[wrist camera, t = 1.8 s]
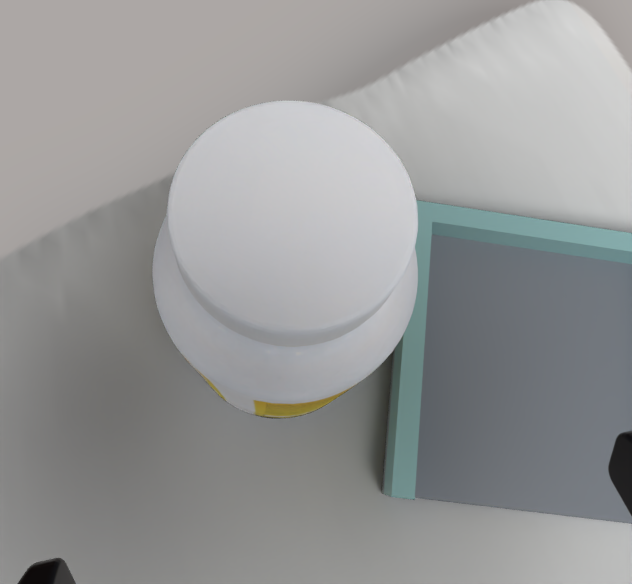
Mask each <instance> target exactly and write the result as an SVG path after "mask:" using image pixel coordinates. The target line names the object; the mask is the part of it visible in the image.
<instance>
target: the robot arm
mask: <svg viewBox="0 0 632 584" xmlns="http://www.w3.org/2000/svg"><path fill="white" fill-rule="evenodd" d="M608 472H609V476H610V479H611V481H612V483H613V485H614V486H615V488H616V490H617V492H618V493H619V495H620V497H621V499H622V500H623V502H624V504H625V506H626V507H627V509H628V511H629V513H630V514H631V516H632V431H627V432H623V433H620V434H619V435H618V436H617V438H616V440H615V444H614V447H613V451H612V454H611V457H610V461H609V465H608ZM18 584H76V583H75V581H74V579H73V577H72V575H71V573H70V571H69V568H68V566H67V564H66V563H65V561H64V560H63V559H61V558H55V559H50V560H46V561H41V562H37V563H35V564H33V565H31V566H30V567H29V568H28V569H27V571H26V572H25V574H24V575H23V576H22V578H21V579H20V581H19V582H18Z"/></svg>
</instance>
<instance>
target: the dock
mask: <svg viewBox="0 0 632 584" xmlns="http://www.w3.org/2000/svg"><path fill="white" fill-rule="evenodd" d="M416 202H417V211H418V232H417V239H416V244H415V251H416V256H417V266H418V286H417V295H416V300H415V305H414V309H413V313H412V315H411V318H410V321H409V323H408V326H407V328H406V330H405V332H404V334H403V336H402V338H401V340H400V341H399V343H398V344H397V346H396V347H395V349H394V350H393V360H392V373H391V385H390V398H389V410H388V423H387V435H386V448H385V460H384V473H383V485H382V494H385V495H388V496H390V497H396V498H404V499H413V500H415V498H421V499H430V500H438V501H446V502H455V503H463V504H472V505H480V506H488V507H497V508H505V509H513V510H522V511H530V512H539V513H547V514H555V515H564V516H572V517H580V518H589V519H597V520H605V521H614V522H622V523H631V524H632V516H631V514H630V513H629V511H628V509H627V507H626V506H625V504H624V502H623V500H622V499H621V497H620V495H619V493H618V492H617V490H616V488H615V486H614V485H613V483H612V481H611V479H610V476H609V472H608V465H609V461H610V457H611V454H612V451H613V447H614V444H615V440H616V438H617V436H618V435H619V434H620V433H623V432H627V431H632V233H627V232H621V231H614V230H608V229H601V228H595V227H588V226H582V225H575V224H569V223H562V222H555V221H549V220H542V219H536V218H529V217H523V216H516V215H510V214H503V213H497V212H490V211H484V210H477V209H471V208H464V207H458V206H451V205H445V204H438V203H432V202H425V201H419V200H416Z"/></svg>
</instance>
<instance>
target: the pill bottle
mask: <svg viewBox="0 0 632 584" xmlns="http://www.w3.org/2000/svg"><path fill="white" fill-rule="evenodd" d="M417 232H418V211H417V202H416V197H415V192H414V189H413V187H412V184H411V180H410V177H409V175H408V173H407V171H406V169H405V167H404V165H403V164H402V162H401V160H400V159H399V157H398V156H397V154H396V153H395V152H394V151H393V150H392V148H391V147H390V146H389V145H388V144H387V142H386V141H385V140H384V139H383V138H382V137H381V136H380V135H379V134H377V133H376V132H375V131H374V130H373V129H372V128H370V127H369V126H367V125H366V124H365V123H363V122H362V121H360V120H358V119H357V118H355V117H353V116H351V115H349V114H347V113H345V112H343V111H340V110H338V109H335V108H333V107H329V106H326V105H323V104H318V103H312V102H304V101H292V100H289V101H273V102H267V103H260V104H256V105H252V106H249V107H246V108H244V109H241V110H238V111H236V112H234V113H232V114H229V115H228V116H225V117H224V118H222V119H221V120H219V121H217V122H216V123H214V124H213V125H212V126H210V127H209V128H208V129H207V130H206V131H204V132H203V133H202V134H201V135H200V136H199V137H198V138H197V139H196V140H195V142H194V143H193V144H192V145H191V146H190V148H189V149H188V150H187V152H186V153H185V154H184V156H183V158H182V160H181V162H180V164H179V165H178V167H177V169H176V171H175V174H174V176H173V179H172V183H171V186H170V190H169V195H168V204H167V215H166V217H165V219H164V221H163V223H162V226H161V229H160V232H159V235H158V237H157V241H156V245H155V250H154V256H153V265H152V279H153V288H154V295H155V300H156V304H157V308H158V311H159V314H160V316H161V319H162V321H163V324H164V326H165V328H166V330H167V332H168V334H169V336H170V338H171V339H172V341H173V343H174V344H175V346H176V347H177V348H178V350H179V351H180V352H181V354H182V355H183V356H184V358H185V359H186V360H187V361H188V362H189V363H190V365H191V366H192V367H193V368H194V369H195V370H196V371H197V372H198V373H199V374H200V375H201V376H202V377H203V378H204V379H205V380H206V382H207V383H208V384H209V385H210V387H211V388H212V389H213V390H214V391H215V392H216V393H217V394H218V395H219V396H220V397H221V398H223V399H224V400H225V401H226V402H228V403H230V404H231V405H233V406H235V407H236V408H238V409H240V410H242V411H245V412H247V413H250V414H253V415H256V416H260V417H266V418H291V417H297V416H301V415H305V414H308V413H311V412H313V411H316V410H318V409H320V408H322V407H323V406H325V405H327V404H328V403H330V402H331V401H333V400H334V399H336V398H337V397H339V396H340V395H342V394H343V393H345V392H346V391H348V390H349V389H351V388H352V387H353V386H355V385H356V384H358V383H359V382H360V381H362V380H364V379H365V378H366V377H368V376H369V375H370V374H371V373H372V372H373V371H374V370H375V369H377V368H378V367H379V366H380V365H381V364H382V363H383V362H384V361H385V360H386V358H387V357H388V356H389V355H390V354H391V353H392V351H393V350H394V349H395V347H396V346H397V344H398V343H399V341H400V340H401V338H402V336H403V334H404V332H405V330H406V328H407V326H408V323H409V321H410V318H411V315H412V313H413V309H414V305H415V300H416V295H417V286H418V266H417V256H416V251H415V244H416V239H417Z"/></svg>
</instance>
